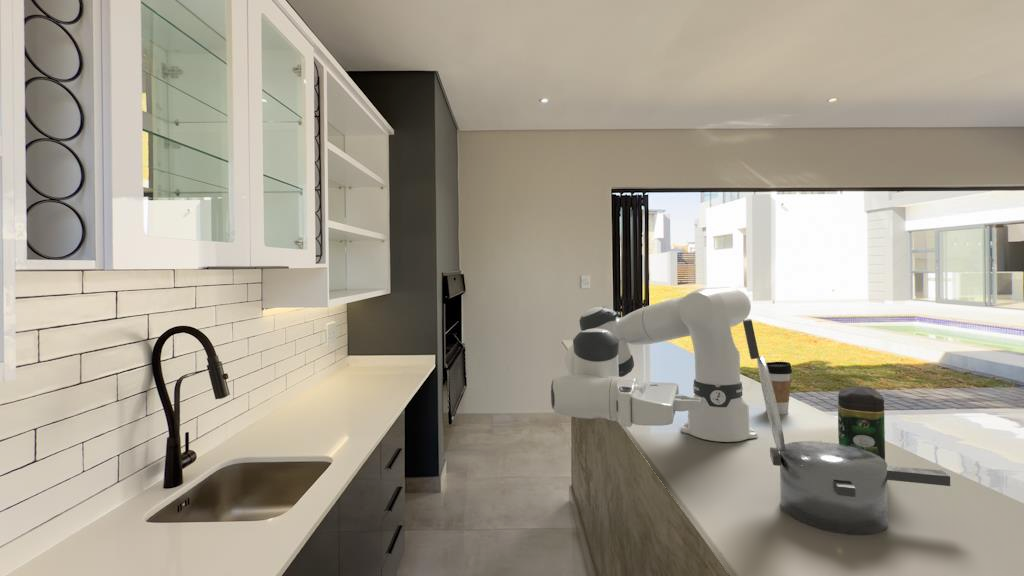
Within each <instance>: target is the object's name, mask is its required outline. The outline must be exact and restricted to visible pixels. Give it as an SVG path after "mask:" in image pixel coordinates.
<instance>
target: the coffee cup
mask: <svg viewBox="0 0 1024 576" xmlns="http://www.w3.org/2000/svg"><path fill="white" fill-rule="evenodd" d="M766 363H767V367H768V370H769V374H770V377H771V381H772V385H773V389H774V393H775V397H776V401H777V406H778V410H779V415H780V414H782V415H787V414H789V405H790V404H789V402H790V396H791V395H790V393H791V382H792V379H791V376H792V375H791V374H792V373H793V370H792V365H791V363H790V362H787V361H770V362H766ZM765 411H766V412H767V409H766V408H765Z"/></svg>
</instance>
